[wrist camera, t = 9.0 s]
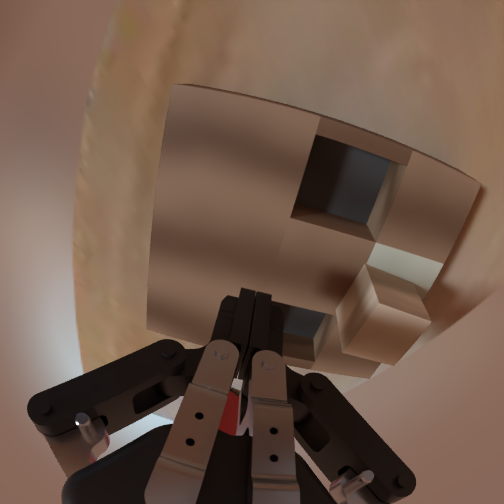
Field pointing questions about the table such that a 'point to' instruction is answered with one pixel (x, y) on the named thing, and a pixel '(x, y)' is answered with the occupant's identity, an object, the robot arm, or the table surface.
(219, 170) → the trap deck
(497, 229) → the table surface
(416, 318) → the maple block
